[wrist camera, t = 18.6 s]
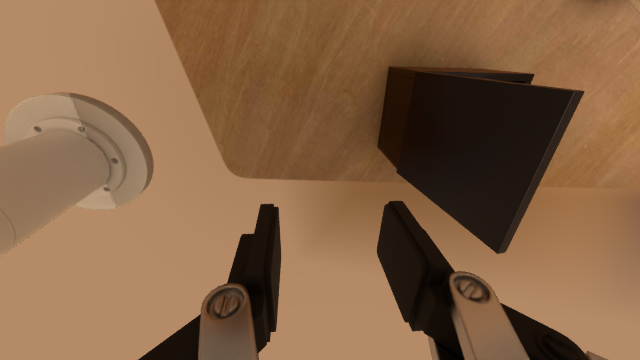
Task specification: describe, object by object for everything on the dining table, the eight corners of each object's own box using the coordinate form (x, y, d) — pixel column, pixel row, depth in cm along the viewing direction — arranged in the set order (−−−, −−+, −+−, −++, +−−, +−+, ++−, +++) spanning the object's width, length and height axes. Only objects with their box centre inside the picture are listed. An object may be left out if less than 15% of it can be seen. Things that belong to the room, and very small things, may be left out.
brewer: (482, 68, 35) (535, 74, 27) (458, 146, 40) (497, 169, 33) (388, 66, 34) (416, 70, 26) (377, 146, 39) (397, 170, 31)
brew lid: (585, 91, 13) (574, 91, 13) (505, 252, 19) (497, 254, 19) (421, 71, 26) (415, 71, 26) (402, 171, 31) (396, 172, 31)
